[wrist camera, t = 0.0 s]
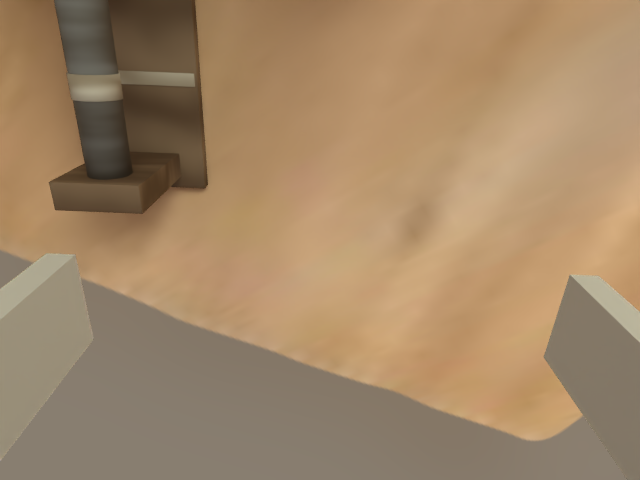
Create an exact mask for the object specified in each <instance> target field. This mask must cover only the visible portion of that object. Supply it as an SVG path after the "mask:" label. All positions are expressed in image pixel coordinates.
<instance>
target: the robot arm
mask: <svg viewBox="0 0 640 480" xmlns="http://www.w3.org/2000/svg"><path fill="white" fill-rule="evenodd" d="M93 339H94V338H93V333H92V329H91V324H90V320H89V315H88V310H87V306H86V301H85V297H84V292H83V287H82V283H81V278H80V273H79V269H78V264H77V260H76V255H74V254H49V253H46V254H45V255H44V256H42V257H41V258H40V259H38V260H37V261H36V262H35V263H33V264H32V265H31V266H30V267H28V268H27V269H26V270H24V271H23V272H22V273H20V274H19V275H18V276H16V277H15V278H14V279H13V280H11V281H10V282H9V283H7V284H6V285H5V286H4V287H2V288H1V289H0V461H1V459H2V458H3V457H4V455H5V454H6V453H7V452H8V450H9V449H10V448H11V446H12V445H13V444H14V442H15V441H16V439H18V437H19V436H20V435H21V433H22V432H23V431H24V429H25V428H26V427H27V426H28V424H29V423H30V422H31V420H32V419H33V418H34V416H35V415H36V414H37V413H38V411H39V410H40V409H41V407H42V406H43V405H44V403H45V402H46V401H47V400H48V398H49V397H50V396H51V394H52V393H53V392H54V390H55V389H56V388H57V386H58V385H59V384H60V382H61V381H62V380H63V379H64V377H65V376H66V375H67V373H68V372H69V371H70V370H71V368H72V367H73V366H74V364H75V363H76V361H77V360H78V359H79V358H80V357H81V355H82V354H83V353H84V351H85V350H86V349H87V347H88V346H89V345H90V344H91V342H92V341H93ZM544 358H545V360H546V361H547V363H548V364H549V366H550V367H551V369H552V370H553V371H554V373H555V374H556V376H557V377H558V379H559V380H560V382H561V383H562V385H563V386H564V388H565V389H566V391H567V392H568V394H569V395H570V396H571V398H572V399H573V401H574V402H575V404H576V405H577V407H578V408H579V410H580V411H581V413H582V414H583V416H584V417H585V418H586V420H587V421H588V423H589V424H590V426H591V427H592V429H593V430H594V432H595V433H596V435H597V436H598V437H599V439H600V441H601V442H602V443H603V445H604V446H605V448H606V449H607V451H608V452H609V454H610V455H611V457H612V458H613V460H614V461H615V463H616V464H617V465H618V467H619V468H620V470H621V471H622V473H623V474H624V476H625V477H626V479H627V480H640V312H639V311H638V310H637V309H636V308H635V307H634V306H632V305H631V304H630V303H629V302H628V301H627V300H626V299H624V298H623V297H622V296H621V295H620V294H619V293H618V292H616V291H615V290H614V289H613V288H612V287H611V286H610V285H608V284H607V283H606V282H605V281H604V280H603V279H602V278H600V277H599V276H589V275H570V276H569V279H568V282H567V286H566V289H565V292H564V295H563V298H562V301H561V304H560V308H559V311H558V314H557V317H556V320H555V323H554V326H553V330H552V333H551V336H550V339H549V342H548V345H547V348H546V352H545V355H544Z"/></svg>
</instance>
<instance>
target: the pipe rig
mask: <svg viewBox="0 0 640 480" xmlns="http://www.w3.org/2000/svg"><path fill="white" fill-rule="evenodd" d="M54 3H55V8H56V13H57V18H58V24H59V29H60V34H61V40H62V45H63V50H64V56H65V61H66V66H67V71H68V72H67V73H66V74H67V79H68V84H69V89H70V95H71V99H72V100H73V103H74V108H75V114H76V119H77V124H78V130H79V135H80V140H81V146H82V151H83V156H84V161H85V164H83V165H81V166H79V167H77V168H75V169H73V170H71V171H69V172H67V173H65V174H64V175H62V176H60V177H58V178H56V179H54V180H52V181H50V182H49V185H50V189H51V194H52V198H53V202H54V207H55V210H65V211H89V212H114V213H138V214H143V213H144V212H145V211H146V210H147V209H148V208H149V207H150V206H151V205H152V204H153V203H154V202H155V201H156V200H157V199H158V198H159V197H160V196H161V195H162V194H163V193H164V192H166V191H167V190H168V189H169V188H170V187H191V188H206V186H207V185H208V180H207V166H206V152H205V138H204V124H203V110H202V95H201V81H200V67H199V53H198V39H197V25H196V11H195V0H54Z"/></svg>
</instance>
